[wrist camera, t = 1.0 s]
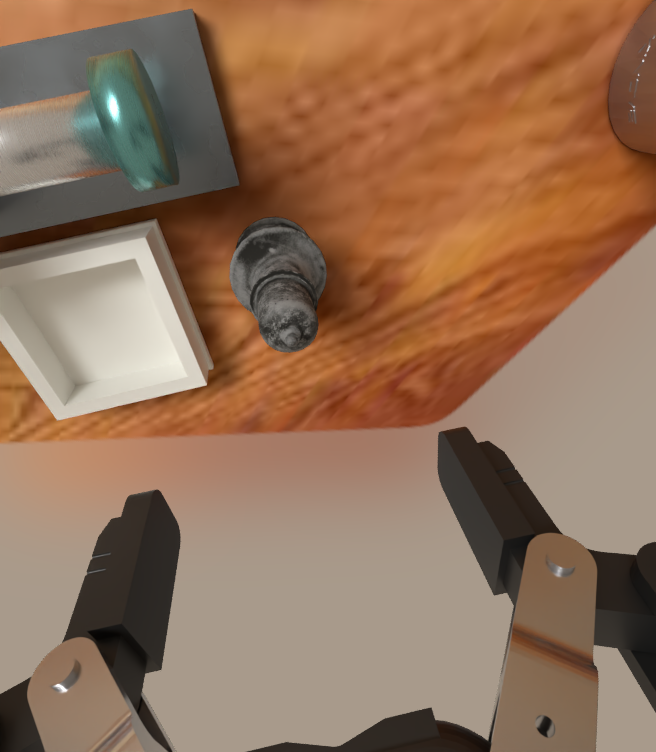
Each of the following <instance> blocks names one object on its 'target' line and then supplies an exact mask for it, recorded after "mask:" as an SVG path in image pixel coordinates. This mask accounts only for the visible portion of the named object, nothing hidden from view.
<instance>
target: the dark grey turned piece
mask: <svg viewBox="0 0 656 752" xmlns="http://www.w3.org/2000/svg"><path fill="white" fill-rule="evenodd" d="M326 277H327V272H326V263H325V260H324V258H323V255H322V252H321V251H320V249H319V248H318V247H317V245H316V244H315V242H314V241H313V240H311V239H310V238H309V236H308V235H307V234H306V232H305V231H304V230H303V229H302V228H301V227H300V226H298V225H297V224H296V223H295V222H292V221H290V220H288V219H285V218H279V217H269V218H263V219H261V220H258V221H256V222H254V223H252V224H251V225H250V226H249V227H248V228H246V229H245V230H244V232H243V233H242V235H241V236H240V238H239V240H238V243H237V246H236V251H235V252H234V255H233V258H232V261H231V263H230V281H231V286H232V290H233V292H234V293H235V295H236V297H237V299H238V301H239V302H240V303H241V304H242V305H243V306H244V307H245V308H246V309H247V310H249V311H250V312H252V313H253V315H254V317H255V318H256V319H257V320H258V322H259V329H260V334H261V335H262V337H263V339H264V341H265V342H266V343H267V344H268V345H269V346H270V347H272V348H273V349H275V350H278V351H281V352H296V351H299V350H302V349H304V348H306V347H307V346H308V345H310V344H311V343H312V341H313V340H314V339H315V337H316V335H317V330H318V318H317V315H316V310H317V304H318V299H319V298H320V296H321V294H322V292H323V290H324V288H325V283H326Z"/></svg>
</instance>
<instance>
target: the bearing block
mask: <svg viewBox="0 0 656 752" xmlns="http://www.w3.org/2000/svg"><path fill="white" fill-rule="evenodd" d="M127 49H133V50H134V51H135V52H136V53H137V55H138V56H139V58H140V59H141V61H142V63H143V65H144V67H145V69H146V71H147V73H148V75H149V77H150V79H151V82H152V84H153V86H154V89H155V91H156V94H157V96H158V99H159V101H160V104H161V107H162V110H163V112H164V115H165V118H166V121H167V124H168V127H169V131H170V134H171V137H172V141H173V145H174V148H175V153H176V157H177V162H178V167H179V176H180V180H179V184H178V185H174V186H169V187H165V188H160V189H156V190H151V191H146V192H139V191H137V190H136V189H135V188H134V187H133V186H132V185H131V183H130V182H129V181H128V179H127V178H126V176H125V175H124V173H123V171H118V172H113V173H109V174H104V175H99V176H95V177H90V178H85V179H80V180H76V181H71V182H66V183H62V184H57V185H52V186H48V187H43V188H38V189H34V190H29V191H24V192H20V193H15V194H10V195H6V196H1V197H0V237H3V236H8V235H13V234H17V233H22V232H26V231H31V230H36V229H40V228H45V227H49V226H54V225H59V224H63V223H68V222H72V221H77V220H82V219H86V218H91V217H95V216H100V215H105V214H109V213H114V212H118V211H123V210H128V209H132V208H137V207H141V206H146V205H151V204H155V203H160V202H164V201H169V200H174V199H178V198H183V197H187V196H192V195H197V194H201V193H206V192H210V191H215V190H220V189H224V188H229V187H233V186H238V185H240V182H239V178H238V174H237V171H236V167H235V163H234V159H233V156H232V152H231V148H230V145H229V141H228V137H227V133H226V130H225V126H224V122H223V118H222V115H221V111H220V107H219V104H218V100H217V96H216V92H215V89H214V85H213V81H212V78H211V74H210V70H209V66H208V63H207V59H206V55H205V52H204V48H203V44H202V40H201V37H200V33H199V29H198V25H197V22H196V18H195V14H194V11H193V10H192V9H188V10H183V11H178V12H173V13H168V14H163V15H158V16H153V17H148V18H143V19H138V20H133V21H128V22H123V23H118V24H113V25H108V26H103V27H98V28H93V29H88V30H83V31H78V32H73V33H68V34H63V35H58V36H53V37H48V38H43V39H37V40H32V41H27V42H22V43H17V44H12V45H7V46H2V47H0V109H1V108H6V107H11V106H15V105H20V104H25V103H30V102H35V101H40V100H45V99H50V98H54V97H59V96H64V95H69V94H74V93H79V92H84V91H89V86H88V81H87V75H86V61H87V59H88V58H89V57H93V56H98V55H103V54H108V53H112V52H117V51H122V50H127Z"/></svg>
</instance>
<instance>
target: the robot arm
mask: <svg viewBox="0 0 656 752" xmlns="http://www.w3.org/2000/svg"><path fill="white" fill-rule="evenodd" d="M608 105H609V116H610V120H611V123H612V126H613V129H614V132H615V133H616V135H617V136H618V138H619V139H620V141H621V142H623V143H624V144H625V145H627V146H628V147H629V148H631V149H634V150H637V151H640V152H645V153H651V154H656V0H654V1H653V2H652V3H651V4H650V5H649V6H648V7H647V9H646V10H645V11H644V13H643V14H642V15H641V16H640V18H639V19H638V20H637V22H636V23H635V24H634V26H633V28H632V30H631V31H630V33H629V35H628V37H627V38H626V40H625V42H624V44H623V46H622V48H621V51H620V53H619V56H618V58H617V61H616V63H615V66H614V70H613V74H612V78H611V82H610V89H609V99H608ZM438 474H439V479H440V482H441V485H442V488H443V490H444V492H445V494H446V496H447V499H448V501H449V503H450V505H451V507H452V509H453V511H454V513H455V515H456V517H457V519H458V521H459V524H460V526H461V528H462V530H463V532H464V534H465V536H466V538H467V540H468V542H469V544H470V546H471V549H472V551H473V553H474V555H475V557H476V559H477V561H478V563H479V565H480V567H481V569H482V571H483V573H484V575H485V577H486V580H487V582H488V584H489V586H490V588H491V590H492V592H493V594H494V595H498V594H503V593H508V595H509V597H510V599H511V601H512V603H513V605H514V608H513V612H512V618H511V623H510V629H509V634H508V639H507V644H506V649H505V654H504V660H503V665H502V671H501V675H500V680H499V685H498V691H497V695H496V700H495V705H494V710H493V715H492V720H491V725H490V731H489V736H488V741H487V740H486V739H484V738H483V737H482V736H480V735H478V734H476V733H475V732H473V731H471V730H469V729H467V728H465V727H462V726H460V725H457V724H453V723H450V722H446V721H439V720H435V718H434V715H433V711H432V708H427V709H423V710H419V711H414V712H410V713H406V714H402V715H398V716H394V717H390V718H385V719H383V720H382V721H380V722H378V723H377V724H375V725H374V726H372V727H370V728H369V729H367V730H365V731H364V732H362V733H361V734H359V735H357V736H356V737H354V738H352V739H351V740H349V741H348V742H346V743H344V744H343V745H341V746H337V747H329V746H319V745H309V744H299V743H298V744H297V743H289V742H285V743H281V744H277V745H273V746H269V747H264V748H260V749H256V750H252V751H248V752H596V735H597V710H598V671H597V667H596V666H595V665H594V663H593V646H594V645H599V646H605V647H612V648H618V650H619V652H620V653H621V655H622V657H623V658H624V660H625V662H626V663H627V665H628V667H629V668H630V670H631V672H632V674H633V675H634V677H635V679H636V680H637V682H638V684H639V685H640V687H641V689H642V690H643V692H644V694H645V695H646V697H647V699H648V700H649V702H650V704H651V705H652V707H653V709H654V711H655V712H656V542H652V543H649V544H646V545H644V546H643V547H642V548H640V550H639V552H638V553H637V555H629V554H618V553H607V552H598V551H594V550H589V549H587V548H585V547H584V546H583V545H582V544H580V543H579V542H577V541H576V540H574V539H572V538H570V537H568V536H565V535H563V534H562V533H561V532H560V531H559V529H558V528H557V527H556V525H555V524H554V523H553V521H552V520H551V518H550V517H549V516H548V514H547V513H546V511H545V510H544V508H543V507H542V505H541V504H540V503H539V501H538V500H537V498H536V497H535V495H534V494H533V493H532V491H531V490H530V488H529V487H528V485H527V484H526V483H525V482H524V481H523V478H522V477H521V475H520V474H519V473H518V471H517V470H515V467H514V465H513V464H512V463H511V461H510V460H509V458H508V457H507V455H506V454H505V452H503V451H502V450H501V449H499V448H498V447H496V446H495V445H493V444H492V443H490V442H489V441H485V442H480V443H477V442H476V440H475V439H474V437H473V435H472V434H471V432H470V431H469V429H468V428H467V427H461V428H456V429H451V430H446V431H441V432H439V435H438ZM179 549H180V530H179V526H178V523H177V521H176V519H175V517H174V515H173V513H172V512H171V510H170V508H169V506H168V504H167V502H166V500H165V499H164V497H163V495H162V493H161V492H160V491H159V490H153V491H148V492H143V493H138V494H134V495H130V496H128V498H127V500H126V502H125V506H124V509H123V512H122V516H121V517H118V518H113V519H111V520H110V522H109V523H108V525H107V526H106V527H105V529H104V530H103V531H102V533H101V534H100V535H99V537H98V540H97V543H96V546H95V549H94V552H93V555H92V557H93V558H92V560H91V561H90V564H89V567H88V569H87V575H86V576H85V578H84V581H83V584H82V587H81V590H80V593H79V596H78V599H77V603H76V605H75V608H74V611H73V614H72V617H71V620H70V624H69V626H68V629H67V632H66V635H65V637H64V640H63V642H62V643H61V644H60V645H58V646H57V647H55V648H54V649H53V650H52V651H50V652H49V653H48V654H47V655H46V656H45V658H43V660H42V661H41V662H40V664H39V665H38V666H37V668H36V670H35V671H34V673H33V675H32V677H30V678H28V679H27V680H25V681H23V682H22V683H20V684H18V685H16V686H14V687H13V688H11V689H9V690H7V691H5V692H4V693H2V694H0V752H177V751H176V750H175V748H174V746H173V744H172V743H171V741H170V739H169V737H168V736H167V734H166V732H165V731H164V728H163V727H162V725H161V723H160V721H159V720H158V718H157V716H156V714H155V712H154V711H153V709H152V707H151V705H150V704H149V702H148V700H147V698H146V697H145V695H144V693H143V692H142V688H143V682H144V677H145V673H149V672H154V671H158V670H161V668H162V662H163V655H164V648H165V642H166V635H167V629H168V622H169V615H170V608H171V602H172V595H173V589H174V582H175V575H176V569H177V562H178V556H179Z"/></svg>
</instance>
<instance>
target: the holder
mask: <svg viewBox="0 0 656 752" xmlns="http://www.w3.org/2000/svg"><path fill="white" fill-rule="evenodd" d="M0 341H1V342H2V344H3V345H4V346H5V348H6V349H7V351H8V352H9V353H10V355H11V356H12V358H13V359H14V360H15V362H16V363H17V365H18V366H19V367H20V369H21V370H22V372H23V373H24V374H25V376H26V377H27V379H28V380H29V381H30V383H31V384H32V386H33V387H34V388H35V390H36V391H37V393H38V394H39V395H40V397H41V398H42V400H43V401H44V402H45V404H46V405H47V407H48V408H49V409H50V411H51V412H52V414H53V415H54V416H55V418H56V419H57V421H58V420H62V419H66V418H70V417H75V416H79V415H83V414H87V413H92V412H96V411H100V410H104V409H108V408H113V407H117V406H121V405H125V404H130V403H134V402H138V401H142V400H147V399H151V398H155V397H159V396H163V395H168V394H172V393H176V392H180V391H185V390H189V389H193V388H197V387H201V386H206V385H207V380H208V371H209V370H211V369H213V368H214V364H213V361H212V359H211V356H210V354H209V351H208V349H207V346H206V343H205V341H204V338H203V336H202V333H201V331H200V328H199V326H198V323H197V321H196V318H195V315H194V313H193V310H192V308H191V305H190V303H189V300H188V298H187V295H186V292H185V290H184V287H183V285H182V282H181V280H180V277H179V275H178V272H177V269H176V267H175V264H174V262H173V259H172V257H171V254H170V252H169V249H168V246H167V244H166V241H165V239H164V236H163V234H162V231H161V229H160V226H159V224H158V221H157V218H156V219H152V220H147V221H142V222H138V223H133V224H129V225H124V226H120V227H115V228H111V229H106V230H101V231H97V232H92V233H88V234H83V235H79V236H74V237H69V238H65V239H60V240H56V241H51V242H47V243H42V244H37V245H33V246H28V247H24V248H19V249H15V250H10V251H6V252H1V253H0Z"/></svg>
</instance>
